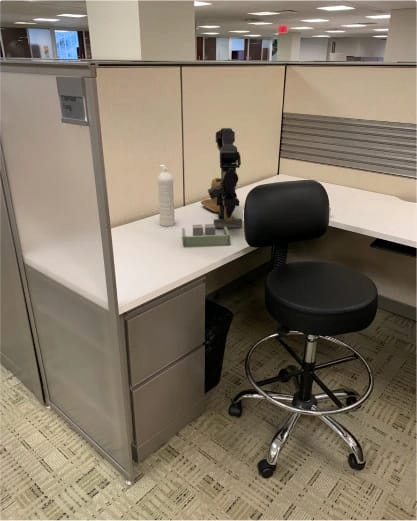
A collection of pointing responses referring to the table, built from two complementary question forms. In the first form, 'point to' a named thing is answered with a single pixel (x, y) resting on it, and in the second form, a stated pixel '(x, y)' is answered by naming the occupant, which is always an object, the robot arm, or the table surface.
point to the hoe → (227, 221)
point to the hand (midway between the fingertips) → (228, 216)
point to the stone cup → (212, 202)
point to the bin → (206, 239)
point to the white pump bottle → (166, 197)
